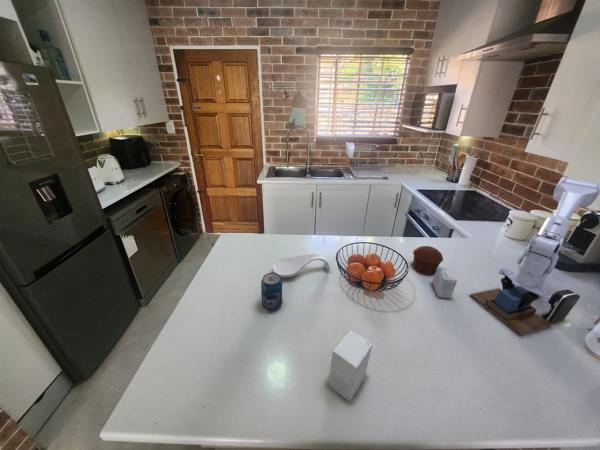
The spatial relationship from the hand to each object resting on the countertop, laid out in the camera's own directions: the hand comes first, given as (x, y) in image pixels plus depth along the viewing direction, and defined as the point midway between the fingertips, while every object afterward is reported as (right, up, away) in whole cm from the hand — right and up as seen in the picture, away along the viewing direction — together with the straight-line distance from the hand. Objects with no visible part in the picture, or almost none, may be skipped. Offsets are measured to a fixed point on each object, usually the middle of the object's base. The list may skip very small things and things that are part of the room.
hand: (512, 302), depth 85 cm
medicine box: (-19, +1, +10) cm, 22 cm away
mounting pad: (0, -3, +2) cm, 4 cm away
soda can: (-83, -1, 0) cm, 83 cm away
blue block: (0, -1, +1) cm, 2 cm away
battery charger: (+13, -5, 0) cm, 14 cm away
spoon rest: (-73, +7, +18) cm, 75 cm away
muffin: (-19, +8, +23) cm, 31 cm away
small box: (-61, -13, -22) cm, 67 cm away
